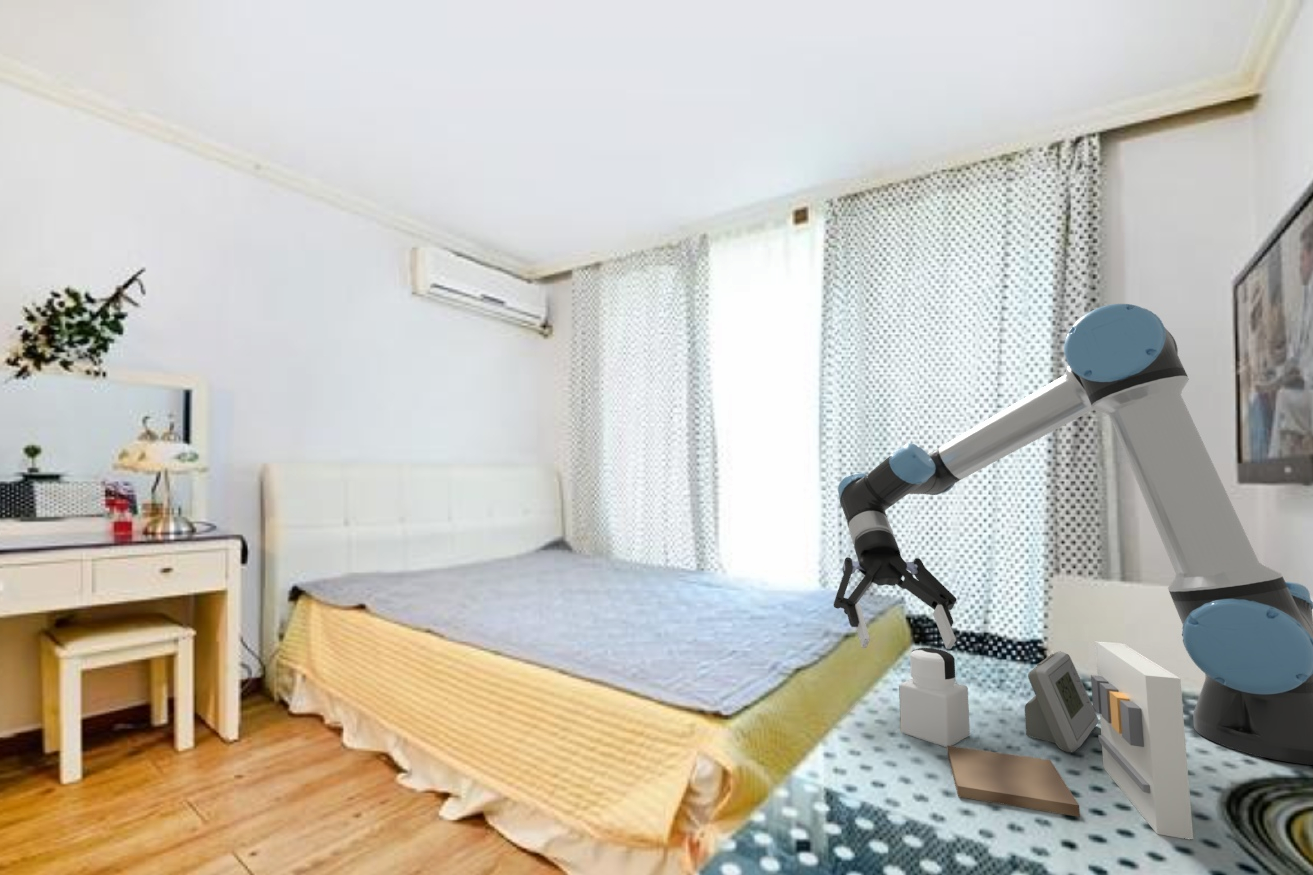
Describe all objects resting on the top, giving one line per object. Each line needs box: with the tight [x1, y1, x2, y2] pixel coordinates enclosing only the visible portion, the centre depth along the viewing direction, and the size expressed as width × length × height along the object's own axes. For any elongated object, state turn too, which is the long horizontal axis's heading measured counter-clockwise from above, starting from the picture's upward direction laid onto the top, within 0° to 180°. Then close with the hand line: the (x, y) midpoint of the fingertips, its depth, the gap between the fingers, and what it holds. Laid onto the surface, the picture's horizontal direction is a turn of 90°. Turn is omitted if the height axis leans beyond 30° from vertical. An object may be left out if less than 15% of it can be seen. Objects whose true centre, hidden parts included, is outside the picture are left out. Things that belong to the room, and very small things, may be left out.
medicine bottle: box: [898, 647, 971, 749], centre depth 88 cm, size 7×7×12 cm
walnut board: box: [946, 745, 1081, 818], centre depth 73 cm, size 12×12×1 cm
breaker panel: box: [1090, 640, 1194, 840], centre depth 69 cm, size 4×16×16 cm, turn 159°
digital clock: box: [1024, 651, 1099, 753], centre depth 88 cm, size 16×9×11 cm, turn 123°
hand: (908, 644), depth 95 cm, fingers open, 13 cm apart
